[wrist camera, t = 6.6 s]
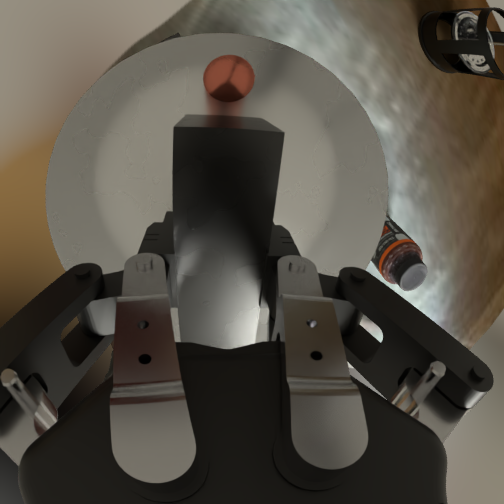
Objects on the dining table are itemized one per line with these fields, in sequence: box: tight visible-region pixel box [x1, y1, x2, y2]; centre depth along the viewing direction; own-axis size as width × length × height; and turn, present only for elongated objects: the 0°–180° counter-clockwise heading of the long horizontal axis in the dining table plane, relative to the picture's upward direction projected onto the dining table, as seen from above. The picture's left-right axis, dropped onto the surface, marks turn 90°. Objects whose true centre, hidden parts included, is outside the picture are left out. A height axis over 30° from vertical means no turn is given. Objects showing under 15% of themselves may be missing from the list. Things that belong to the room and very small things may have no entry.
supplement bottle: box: [371, 215, 427, 291], centre depth 35 cm, size 6×6×11 cm
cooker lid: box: [46, 33, 388, 349], centre depth 12 cm, size 17×17×5 cm
